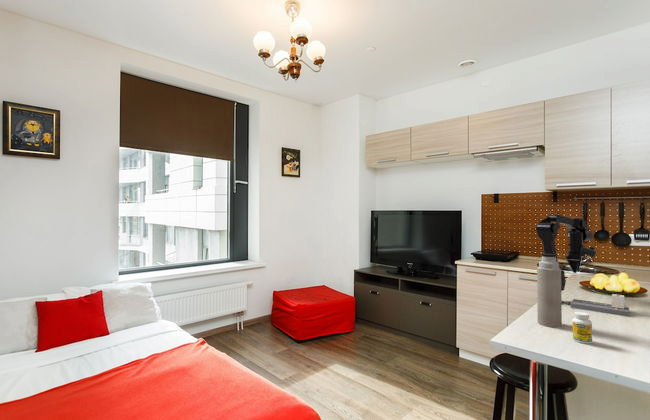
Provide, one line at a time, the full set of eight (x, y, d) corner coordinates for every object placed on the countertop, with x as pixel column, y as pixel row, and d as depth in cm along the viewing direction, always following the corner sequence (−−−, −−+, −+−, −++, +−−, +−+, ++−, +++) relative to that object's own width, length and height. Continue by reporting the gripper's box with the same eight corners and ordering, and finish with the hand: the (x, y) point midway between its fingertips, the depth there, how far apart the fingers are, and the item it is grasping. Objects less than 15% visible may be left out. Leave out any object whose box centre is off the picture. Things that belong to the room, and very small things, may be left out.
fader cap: (611, 306, 148) (611, 295, 148) (612, 305, 150) (612, 293, 150) (624, 308, 145) (623, 296, 145) (624, 306, 148) (624, 294, 148)
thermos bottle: (539, 319, 139) (539, 252, 139) (563, 323, 133) (562, 253, 133) (535, 324, 133) (534, 254, 133) (559, 329, 127) (559, 255, 128)
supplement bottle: (588, 339, 117) (588, 312, 117) (594, 345, 112) (594, 316, 112) (570, 337, 119) (570, 310, 119) (575, 342, 114) (575, 314, 114)
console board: (570, 307, 155) (570, 302, 155) (573, 303, 163) (573, 298, 163) (628, 316, 142) (628, 311, 142) (629, 311, 149) (629, 306, 149)
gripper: (593, 244, 162) (594, 276, 162) (597, 241, 176) (597, 271, 176) (565, 242, 170) (566, 273, 170) (571, 240, 183) (571, 268, 183)
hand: (576, 271), depth 174 cm, fingers open, 9 cm apart
